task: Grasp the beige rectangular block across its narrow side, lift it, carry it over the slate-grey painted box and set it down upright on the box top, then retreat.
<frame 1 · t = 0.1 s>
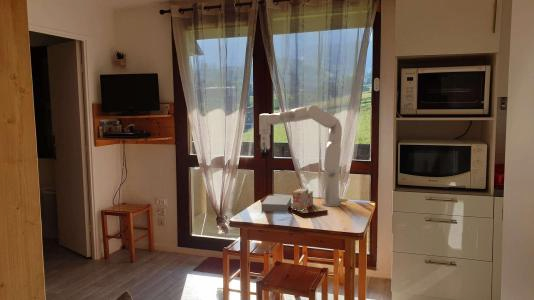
hand: (265, 157, 291), 31 cm above the table, tool pointing down, fingers open, 9 cm apart
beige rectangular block: (303, 208, 278), on the table
grey box: (277, 207, 281), on the table
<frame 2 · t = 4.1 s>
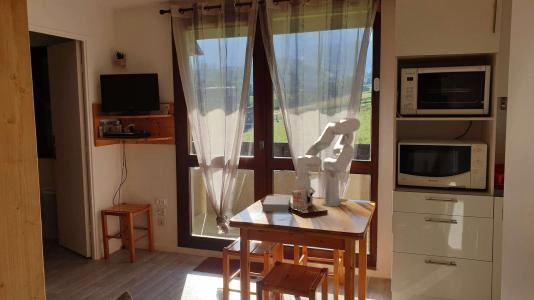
hand: (302, 202, 277), 3 cm above the table, tool pointing down, fingers closed on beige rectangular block, 7 cm apart
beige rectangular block: (302, 207, 278), on the table, touching gripper
everything else where it was.
when the fingers open (10 cm above the table, at t = 10.1 s): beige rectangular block drops 2 cm, point 4 cm above the table.
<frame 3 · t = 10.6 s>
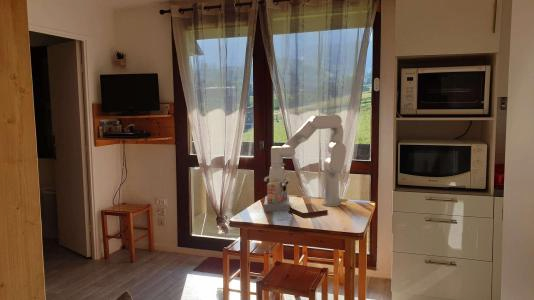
hand: (277, 191, 279), 10 cm above the table, tool pointing down, fingers open, 9 cm apart
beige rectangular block: (277, 200, 281), point 4 cm above the table
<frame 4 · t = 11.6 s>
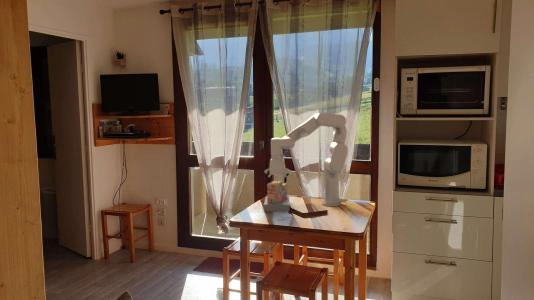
hand: (277, 183, 279), 16 cm above the table, tool pointing down, fingers open, 9 cm apart
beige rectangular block: (277, 200, 281), point 4 cm above the table, touching grey box
grey box: (277, 207, 281), on the table, touching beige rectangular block
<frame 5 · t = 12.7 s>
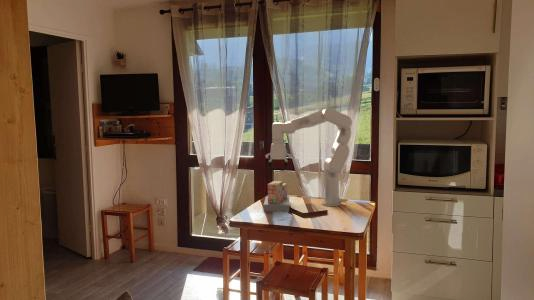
hand: (278, 167, 279), 25 cm above the table, tool pointing down, fingers open, 9 cm apart
nothing on the table moved.
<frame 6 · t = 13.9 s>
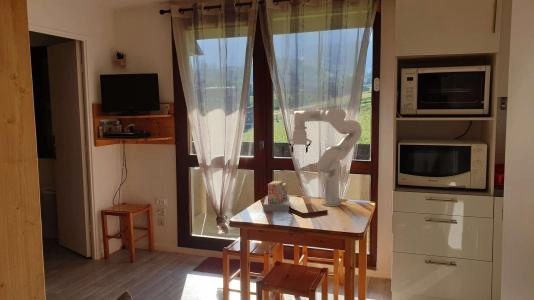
hand: (299, 152, 302), 33 cm above the table, tool pointing down, fingers open, 9 cm apart
nothing on the table moved.
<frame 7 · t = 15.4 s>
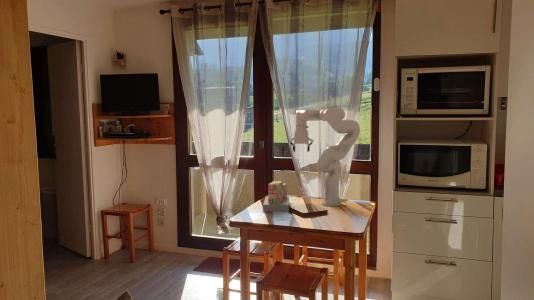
hand: (301, 151, 304), 33 cm above the table, tool pointing down, fingers open, 9 cm apart
nothing on the table moved.
at the end: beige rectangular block inside the target area on the grey box (1.8 cm from its centre), point 4.9 cm above the grey box's base; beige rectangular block tilted 0°; the gripper is holding nothing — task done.
